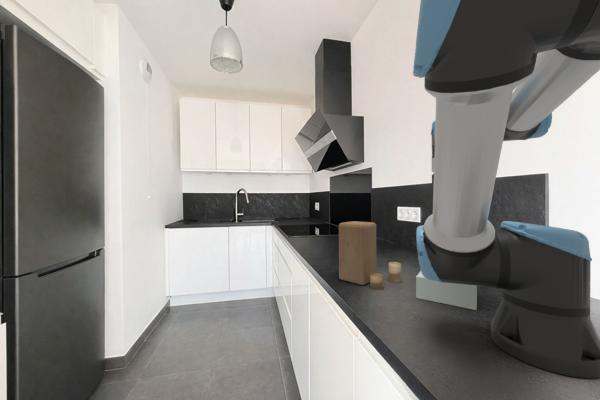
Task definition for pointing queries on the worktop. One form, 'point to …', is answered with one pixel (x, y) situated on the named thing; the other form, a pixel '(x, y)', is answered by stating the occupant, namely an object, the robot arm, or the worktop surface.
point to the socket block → (446, 292)
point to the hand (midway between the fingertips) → (446, 252)
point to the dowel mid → (395, 272)
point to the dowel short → (376, 281)
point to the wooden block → (357, 251)
